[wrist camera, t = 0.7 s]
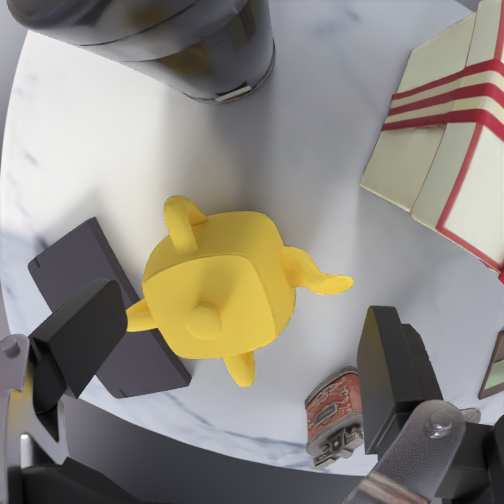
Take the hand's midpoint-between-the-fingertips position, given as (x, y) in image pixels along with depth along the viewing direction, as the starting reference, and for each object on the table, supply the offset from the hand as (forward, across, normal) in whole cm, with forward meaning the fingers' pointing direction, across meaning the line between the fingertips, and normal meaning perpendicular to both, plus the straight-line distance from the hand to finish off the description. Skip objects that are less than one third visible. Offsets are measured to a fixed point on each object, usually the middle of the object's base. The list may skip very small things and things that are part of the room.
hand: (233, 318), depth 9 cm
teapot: (+18, +4, +7) cm, 19 cm away
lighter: (+17, -7, +22) cm, 29 cm away
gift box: (+20, -17, -5) cm, 27 cm away
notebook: (+16, +20, +15) cm, 29 cm away
